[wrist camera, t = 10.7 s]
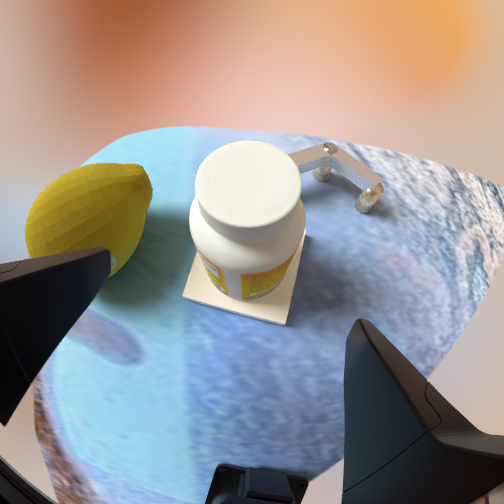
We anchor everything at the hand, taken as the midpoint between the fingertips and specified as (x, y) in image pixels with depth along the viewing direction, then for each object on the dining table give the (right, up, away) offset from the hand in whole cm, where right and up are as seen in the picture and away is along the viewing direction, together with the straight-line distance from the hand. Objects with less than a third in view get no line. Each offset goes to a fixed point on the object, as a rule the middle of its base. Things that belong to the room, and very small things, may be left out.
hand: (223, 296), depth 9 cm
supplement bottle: (+1, +1, +10) cm, 10 cm away
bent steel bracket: (+6, +6, +13) cm, 16 cm away
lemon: (-10, +2, +11) cm, 16 cm away
